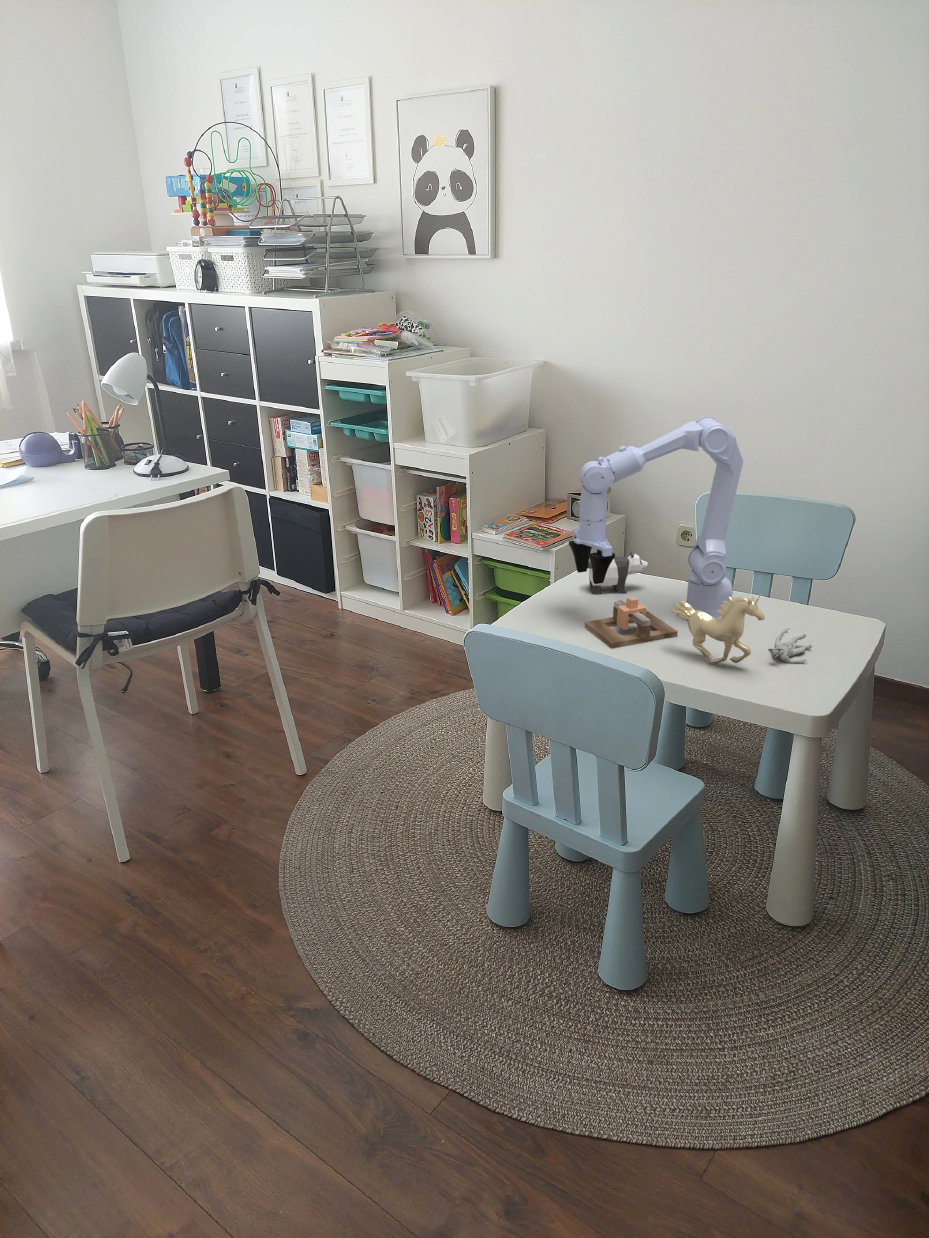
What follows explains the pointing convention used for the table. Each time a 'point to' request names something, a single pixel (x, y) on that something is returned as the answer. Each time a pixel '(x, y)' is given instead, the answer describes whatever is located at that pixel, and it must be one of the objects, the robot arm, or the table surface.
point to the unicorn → (720, 625)
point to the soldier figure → (788, 648)
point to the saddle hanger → (629, 611)
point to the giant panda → (618, 572)
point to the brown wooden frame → (643, 622)
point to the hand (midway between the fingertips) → (590, 577)
